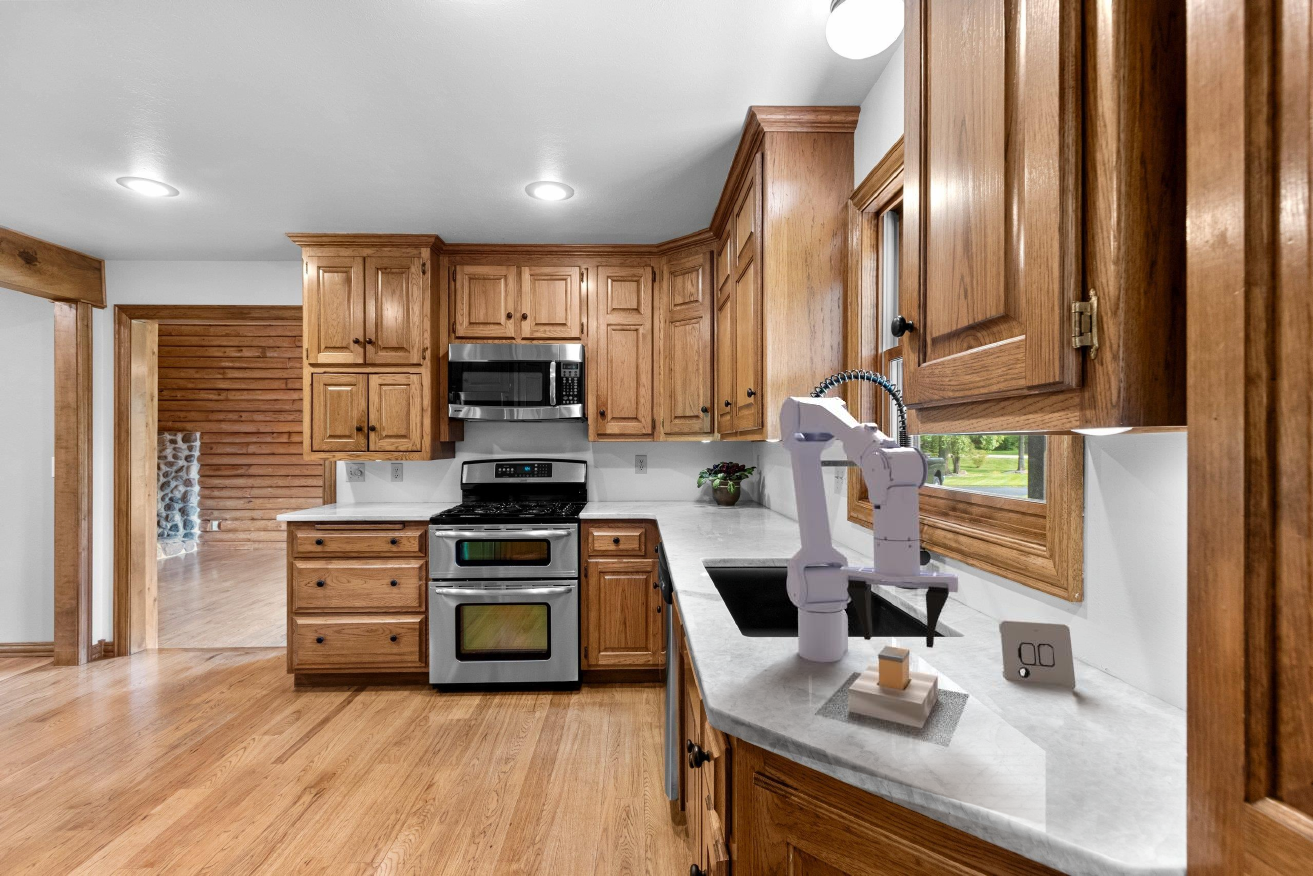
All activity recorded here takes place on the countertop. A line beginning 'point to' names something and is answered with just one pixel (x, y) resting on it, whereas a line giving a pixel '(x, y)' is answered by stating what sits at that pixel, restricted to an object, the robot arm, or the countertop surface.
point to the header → (896, 702)
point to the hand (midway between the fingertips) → (898, 641)
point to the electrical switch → (1037, 652)
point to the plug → (894, 668)
